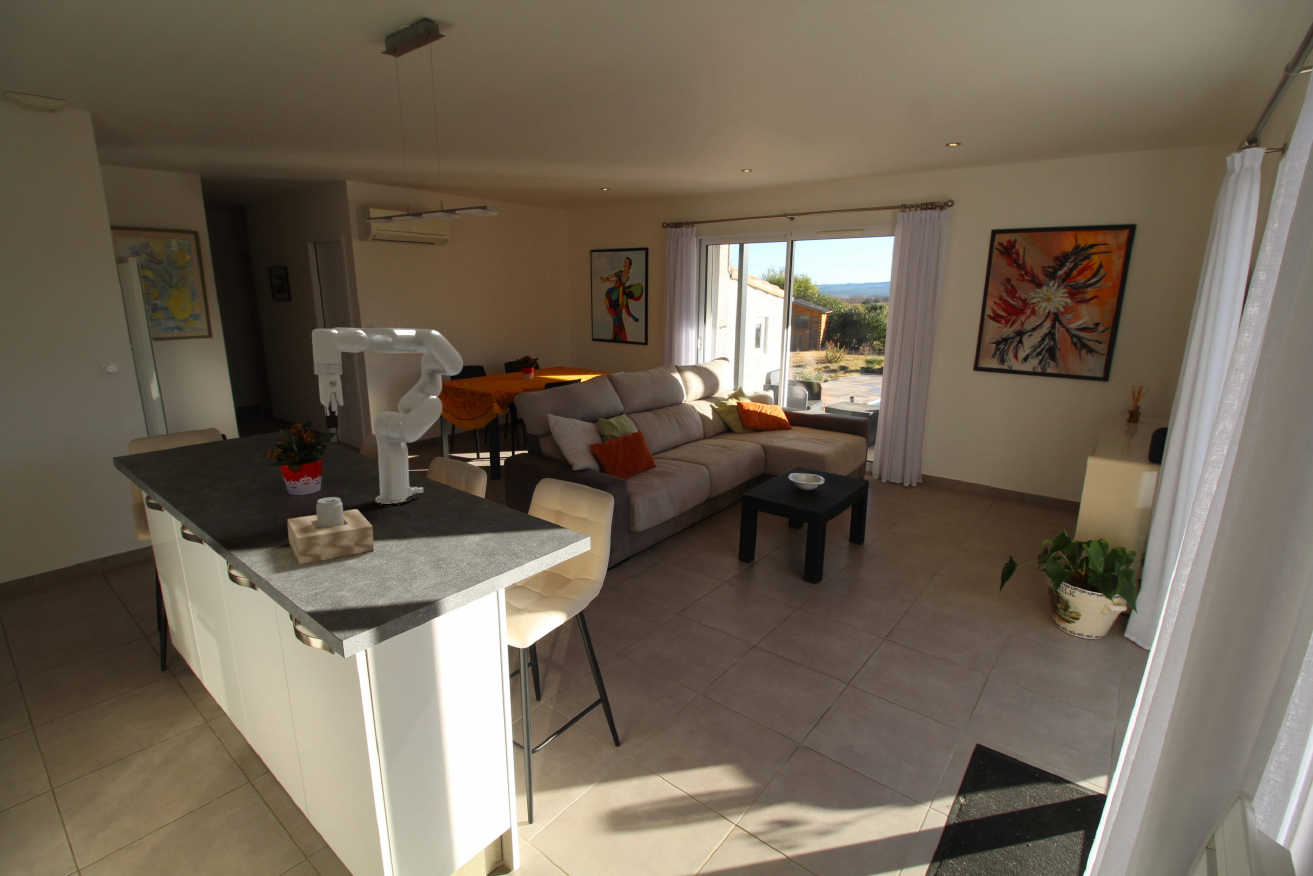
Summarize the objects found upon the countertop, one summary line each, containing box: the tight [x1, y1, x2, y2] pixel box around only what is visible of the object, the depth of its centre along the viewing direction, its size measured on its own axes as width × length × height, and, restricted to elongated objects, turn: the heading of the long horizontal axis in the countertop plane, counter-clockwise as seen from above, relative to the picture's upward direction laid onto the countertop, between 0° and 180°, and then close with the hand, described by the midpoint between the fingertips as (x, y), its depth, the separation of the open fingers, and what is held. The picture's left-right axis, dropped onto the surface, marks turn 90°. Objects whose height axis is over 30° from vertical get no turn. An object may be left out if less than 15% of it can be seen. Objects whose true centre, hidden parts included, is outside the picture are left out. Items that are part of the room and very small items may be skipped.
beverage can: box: [315, 496, 344, 529], centre depth 168 cm, size 6×6×12 cm
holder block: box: [286, 508, 374, 565], centre depth 170 cm, size 18×18×7 cm
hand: (332, 427), depth 191 cm, fingers closed
